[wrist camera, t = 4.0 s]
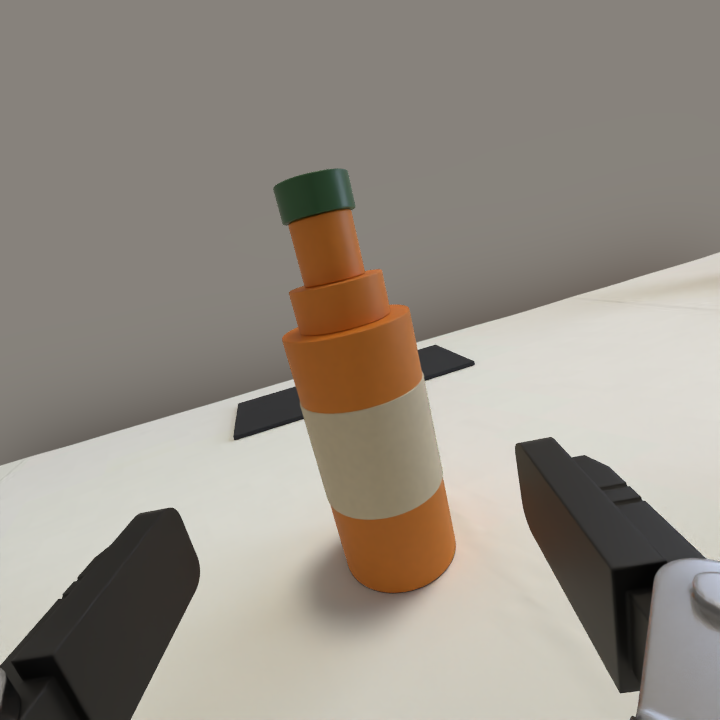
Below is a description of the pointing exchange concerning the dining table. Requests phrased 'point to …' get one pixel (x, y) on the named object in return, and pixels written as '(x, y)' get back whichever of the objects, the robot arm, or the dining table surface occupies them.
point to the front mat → (287, 402)
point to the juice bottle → (363, 396)
